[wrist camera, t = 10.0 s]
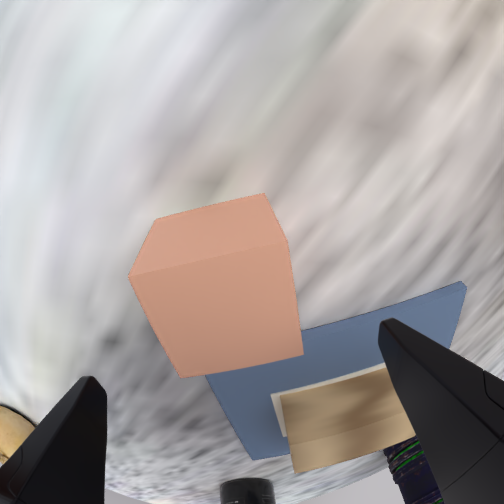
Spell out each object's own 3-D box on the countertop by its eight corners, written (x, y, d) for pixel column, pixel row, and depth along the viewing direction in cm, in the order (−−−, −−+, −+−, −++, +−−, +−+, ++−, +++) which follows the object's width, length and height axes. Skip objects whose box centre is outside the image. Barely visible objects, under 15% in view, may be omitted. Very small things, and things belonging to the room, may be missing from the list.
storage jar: (382, 460, 32) (411, 541, 19) (381, 439, 27) (419, 541, 14) (442, 430, 31) (477, 505, 18) (453, 402, 27) (501, 493, 13)
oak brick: (412, 357, 19) (436, 397, 15) (397, 401, 21) (414, 436, 18) (279, 395, 19) (289, 445, 15) (286, 432, 21) (294, 473, 18)
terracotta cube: (263, 192, 13) (287, 240, 9) (281, 284, 16) (303, 354, 11) (156, 218, 13) (127, 276, 9) (187, 304, 16) (180, 378, 11)
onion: (53, 443, 24) (42, 491, 17) (1, 421, 22) (-14, 464, 16) (36, 411, 20) (17, 468, 14) (-21, 385, 19) (-44, 434, 12)
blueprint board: (460, 281, 17) (467, 288, 16) (421, 404, 25) (424, 410, 24) (198, 352, 17) (198, 363, 16) (251, 453, 25) (252, 461, 24)
